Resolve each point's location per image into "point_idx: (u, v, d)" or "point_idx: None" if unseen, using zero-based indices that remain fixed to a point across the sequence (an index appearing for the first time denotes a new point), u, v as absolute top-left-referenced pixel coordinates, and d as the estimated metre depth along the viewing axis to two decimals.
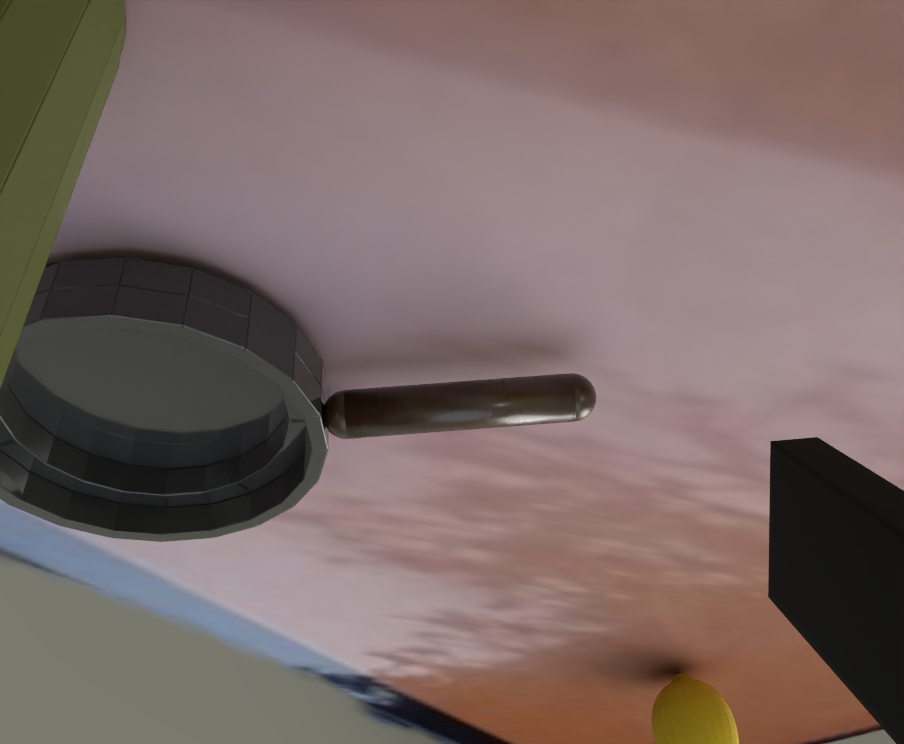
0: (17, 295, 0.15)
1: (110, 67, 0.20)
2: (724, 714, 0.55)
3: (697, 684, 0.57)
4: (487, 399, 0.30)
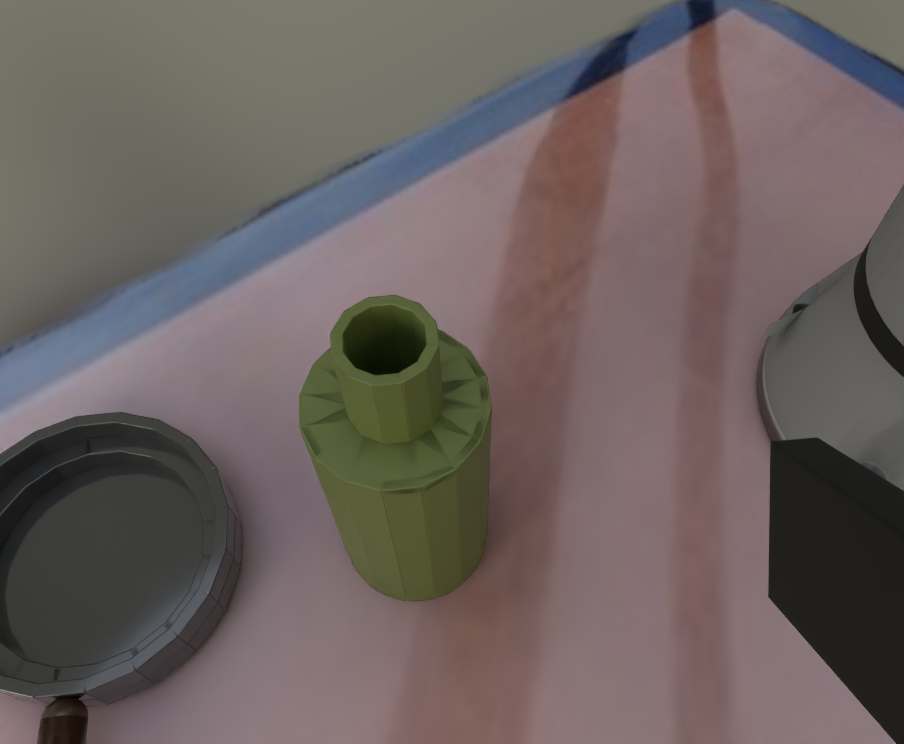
0: (384, 515, 0.30)
1: (393, 585, 0.37)
2: None
3: None
4: None
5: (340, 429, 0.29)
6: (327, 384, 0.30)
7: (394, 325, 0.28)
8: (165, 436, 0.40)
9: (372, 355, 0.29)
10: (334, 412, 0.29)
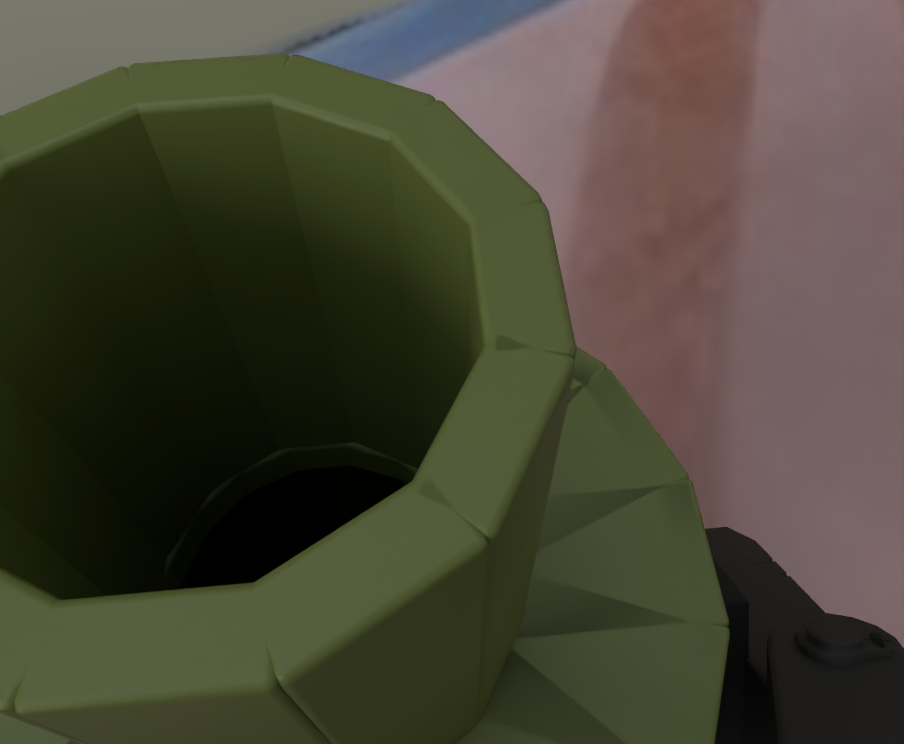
0: None
1: None
2: None
3: None
4: None
5: None
6: None
7: (299, 250, 0.06)
8: None
9: (216, 393, 0.07)
10: None
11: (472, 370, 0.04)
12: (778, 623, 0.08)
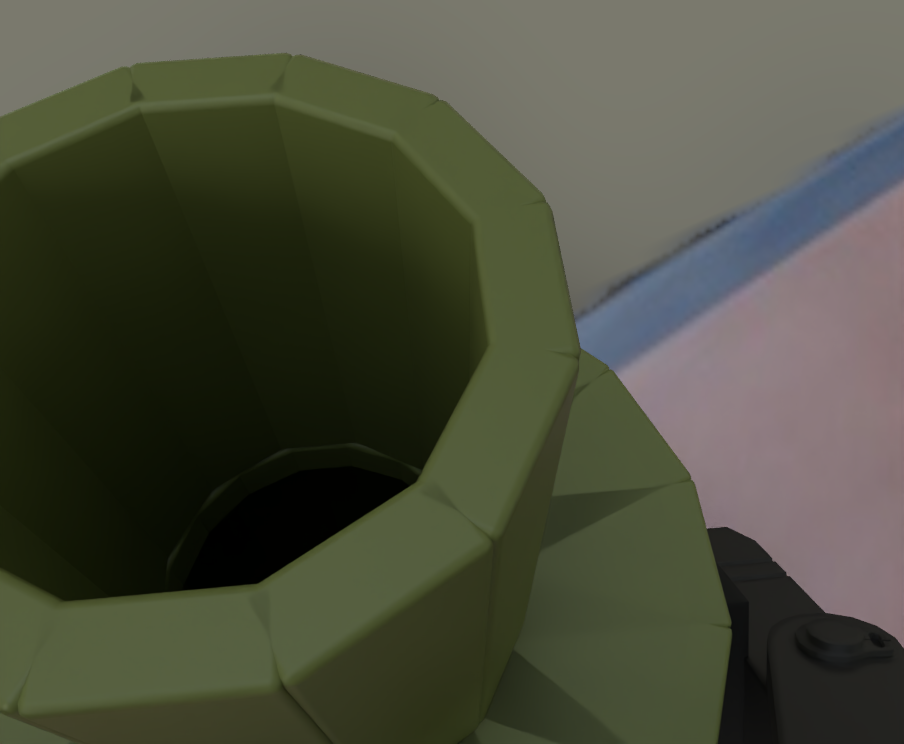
0: None
1: None
2: None
3: None
4: None
5: None
6: None
7: (301, 250, 0.05)
8: None
9: (218, 394, 0.07)
10: None
11: (477, 371, 0.03)
12: (778, 623, 0.08)
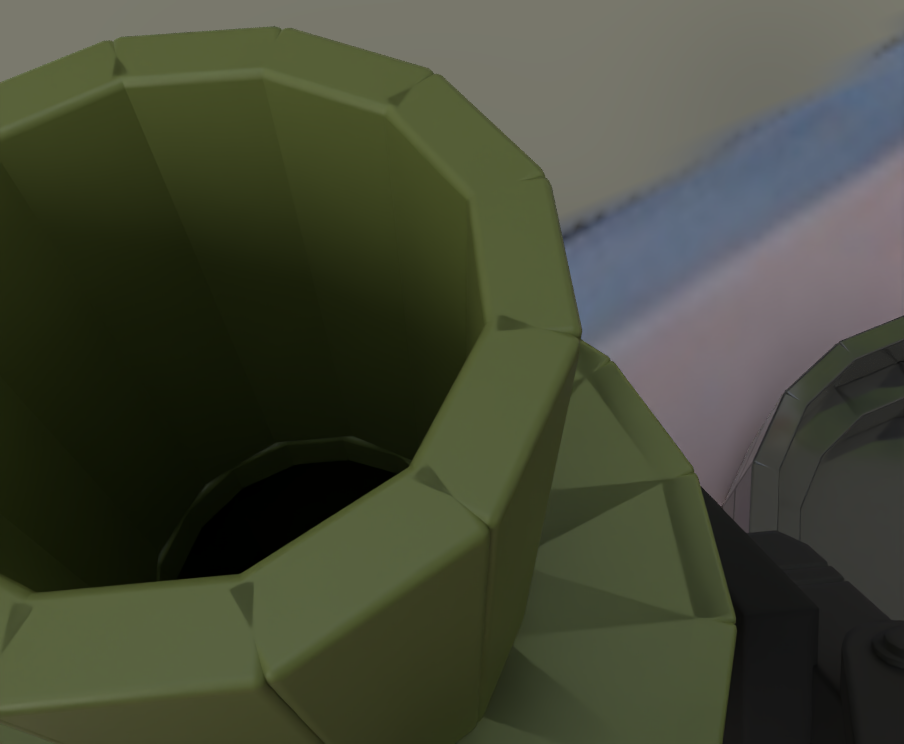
0: None
1: None
2: None
3: None
4: None
5: None
6: None
7: (293, 235, 0.05)
8: None
9: (209, 384, 0.06)
10: None
11: (472, 351, 0.03)
12: (853, 629, 0.08)
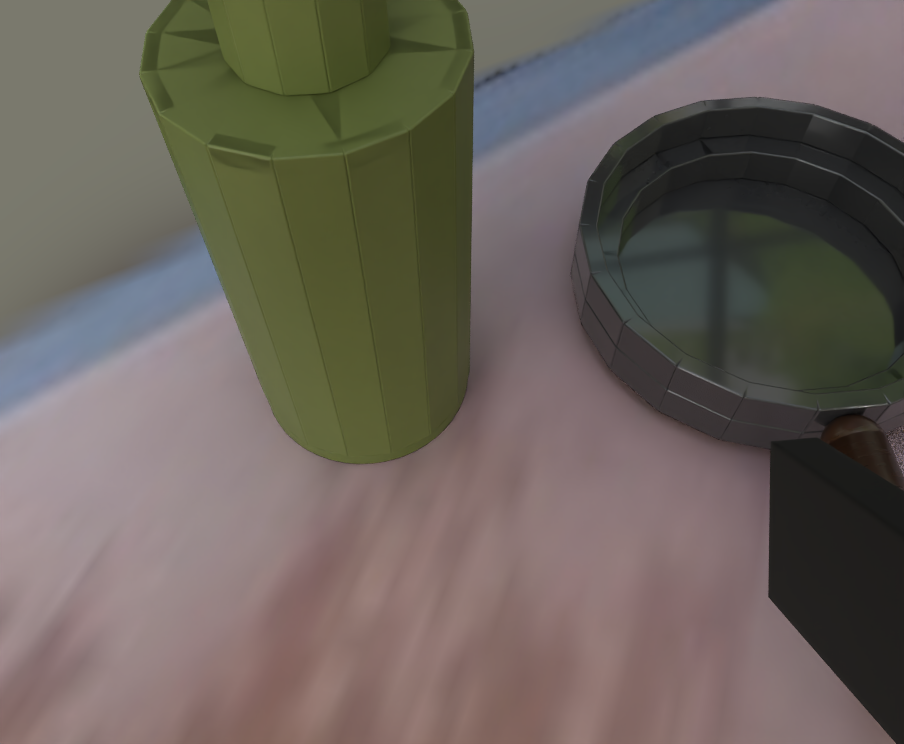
0: (288, 239, 0.17)
1: (326, 429, 0.25)
2: None
3: None
4: None
5: (210, 77, 0.17)
6: (195, 20, 0.18)
7: None
8: (835, 122, 0.30)
9: None
10: (202, 55, 0.17)
11: None
12: None
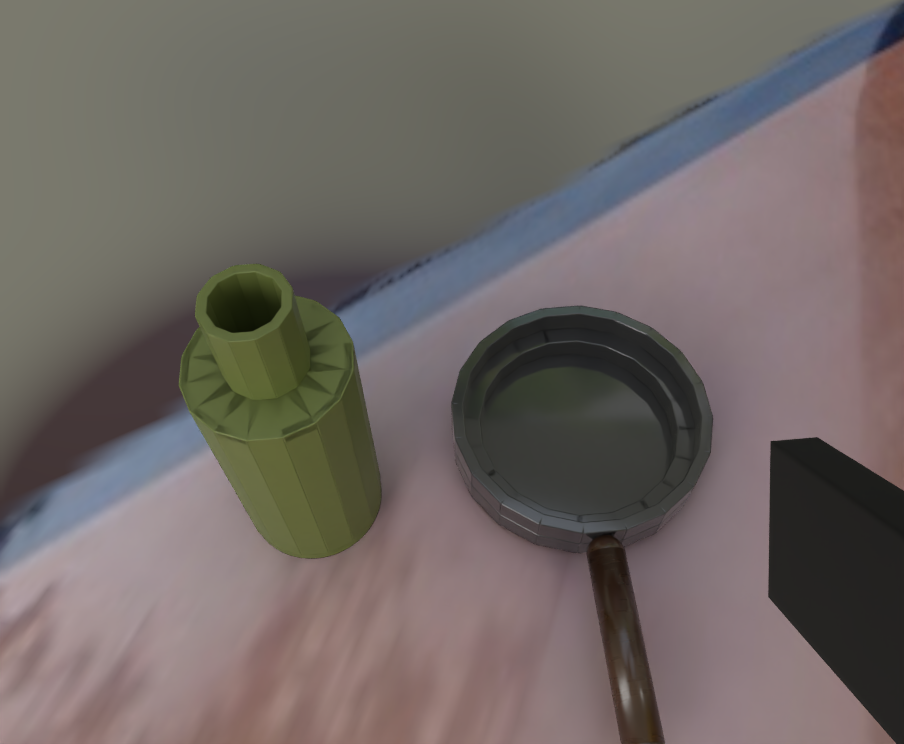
0: (256, 466, 0.33)
1: (286, 541, 0.40)
2: None
3: None
4: (647, 663, 0.36)
5: (215, 387, 0.32)
6: (207, 347, 0.33)
7: (261, 292, 0.31)
8: (627, 326, 0.45)
9: (245, 320, 0.32)
10: (211, 372, 0.33)
11: (279, 309, 0.29)
12: None
